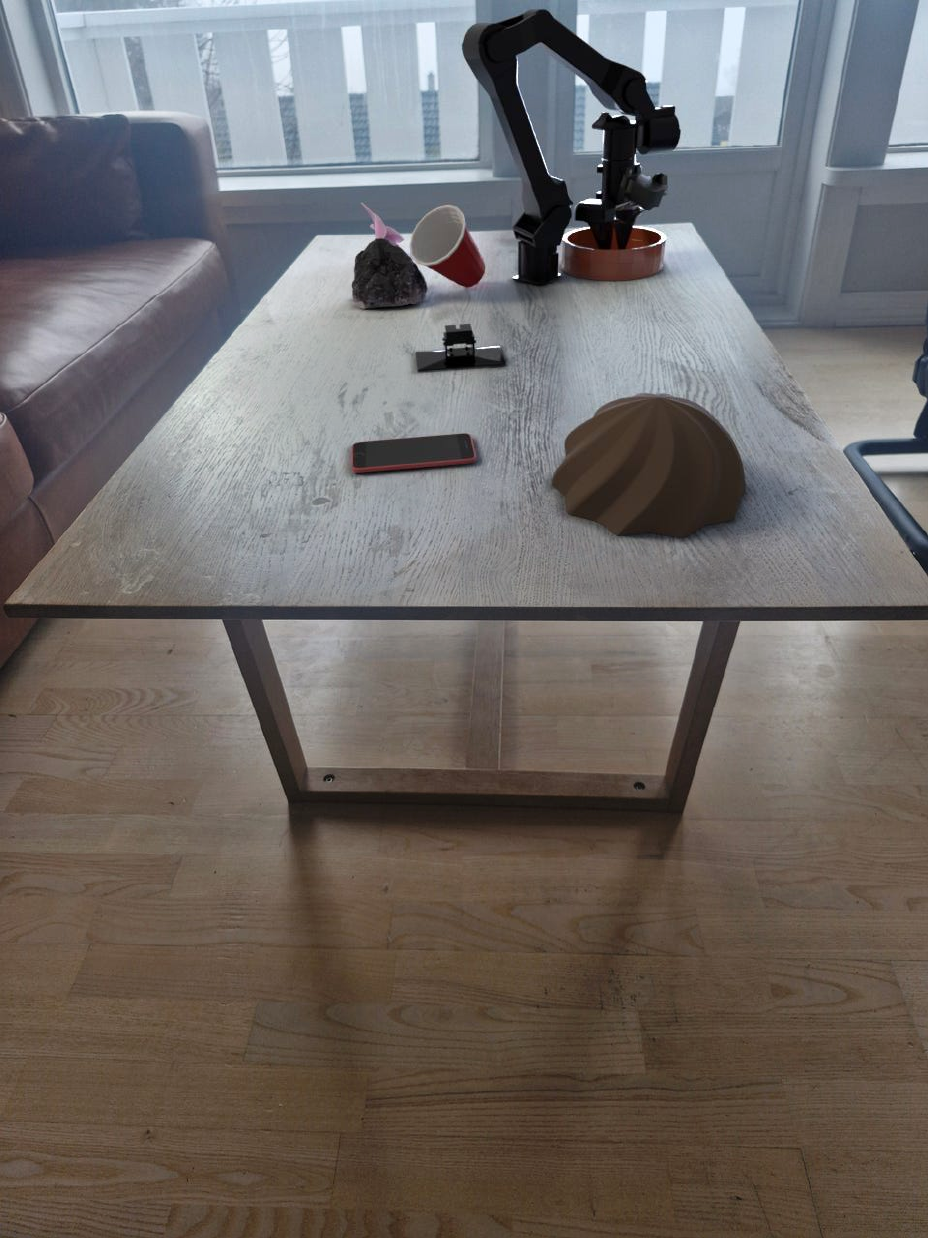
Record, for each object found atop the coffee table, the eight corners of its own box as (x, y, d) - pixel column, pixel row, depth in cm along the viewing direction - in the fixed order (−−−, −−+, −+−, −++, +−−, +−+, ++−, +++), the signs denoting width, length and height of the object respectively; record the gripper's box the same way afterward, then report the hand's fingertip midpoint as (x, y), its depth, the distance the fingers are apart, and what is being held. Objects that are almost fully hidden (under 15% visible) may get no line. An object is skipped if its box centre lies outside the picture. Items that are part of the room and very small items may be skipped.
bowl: (542, 270, 147) (543, 241, 144) (596, 248, 158) (598, 221, 155) (629, 286, 137) (631, 255, 134) (680, 261, 148) (684, 232, 145)
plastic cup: (497, 232, 138) (463, 191, 128) (499, 289, 136) (464, 252, 126) (444, 253, 144) (407, 215, 133) (445, 308, 142) (408, 273, 132)
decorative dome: (756, 543, 74) (778, 445, 68) (543, 531, 77) (545, 435, 71) (737, 449, 89) (754, 361, 82) (559, 442, 92) (562, 356, 86)
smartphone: (351, 441, 92) (470, 431, 93) (352, 446, 93) (470, 436, 94) (350, 469, 87) (477, 458, 88) (351, 474, 87) (477, 463, 88)
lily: (403, 273, 153) (419, 221, 150) (344, 250, 151) (360, 197, 148) (401, 277, 164) (416, 229, 162) (346, 255, 162) (360, 206, 159)
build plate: (499, 349, 117) (499, 316, 114) (506, 367, 111) (506, 333, 108) (415, 354, 116) (413, 321, 113) (417, 373, 110) (415, 339, 107)
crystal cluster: (407, 318, 131) (409, 253, 125) (333, 305, 134) (332, 241, 128) (437, 300, 141) (440, 240, 135) (368, 289, 144) (368, 229, 139)
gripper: (632, 169, 127) (626, 272, 136) (687, 151, 137) (678, 248, 147) (573, 165, 132) (571, 265, 142) (631, 149, 143) (625, 242, 153)
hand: (613, 255), depth 146 cm, fingers closed on popsicle, 5 cm apart
